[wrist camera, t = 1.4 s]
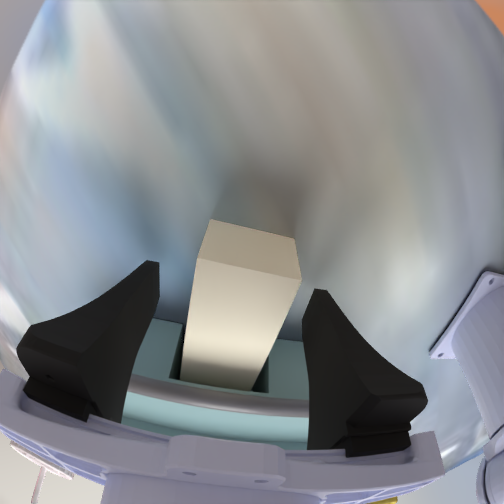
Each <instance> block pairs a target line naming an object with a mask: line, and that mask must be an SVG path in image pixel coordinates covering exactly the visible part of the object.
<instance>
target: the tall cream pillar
mask: <svg viewBox="0 0 504 504" xmlns="http://www.w3.org/2000/svg"><path fill="white" fill-rule="evenodd" d="M301 282H302V277H301V272H300V266H299V261H298V255H297V250H296V245H295V239H294V238H290V237H285V236H281V235H277V234H273V233H269V232H265V231H260V230H256V229H252V228H248V227H243V226H239V225H235V224H230V223H226V222H222V221H217V220H213V219H210V221H209V224H208V227H207V230H206V233H205V236H204V239H203V242H202V245H201V248H200V251H199V254H198V257H197V262H196V268H195V274H194V280H193V286H192V292H191V299H190V305H189V312H188V319H187V326H186V333H185V341H184V348H183V356H182V364H181V372H180V381H185V382H190V383H195V384H201V385H207V386H213V387H220V388H226V389H234V390H241V391H251V389H252V387H253V385H254V383H255V381H256V379H257V377H258V375H259V373H260V371H261V369H262V367H263V365H264V363H265V361H266V359H267V357H268V354H269V352H270V350H271V348H272V346H273V344H274V342H275V340H276V338H277V335H278V333H279V331H280V329H281V327H282V325H283V322H284V320H285V318H286V316H287V314H288V311H289V309H290V307H291V305H292V303H293V300H294V298H295V296H296V293H297V291H298V289H299V287H300V284H301Z"/></svg>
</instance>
